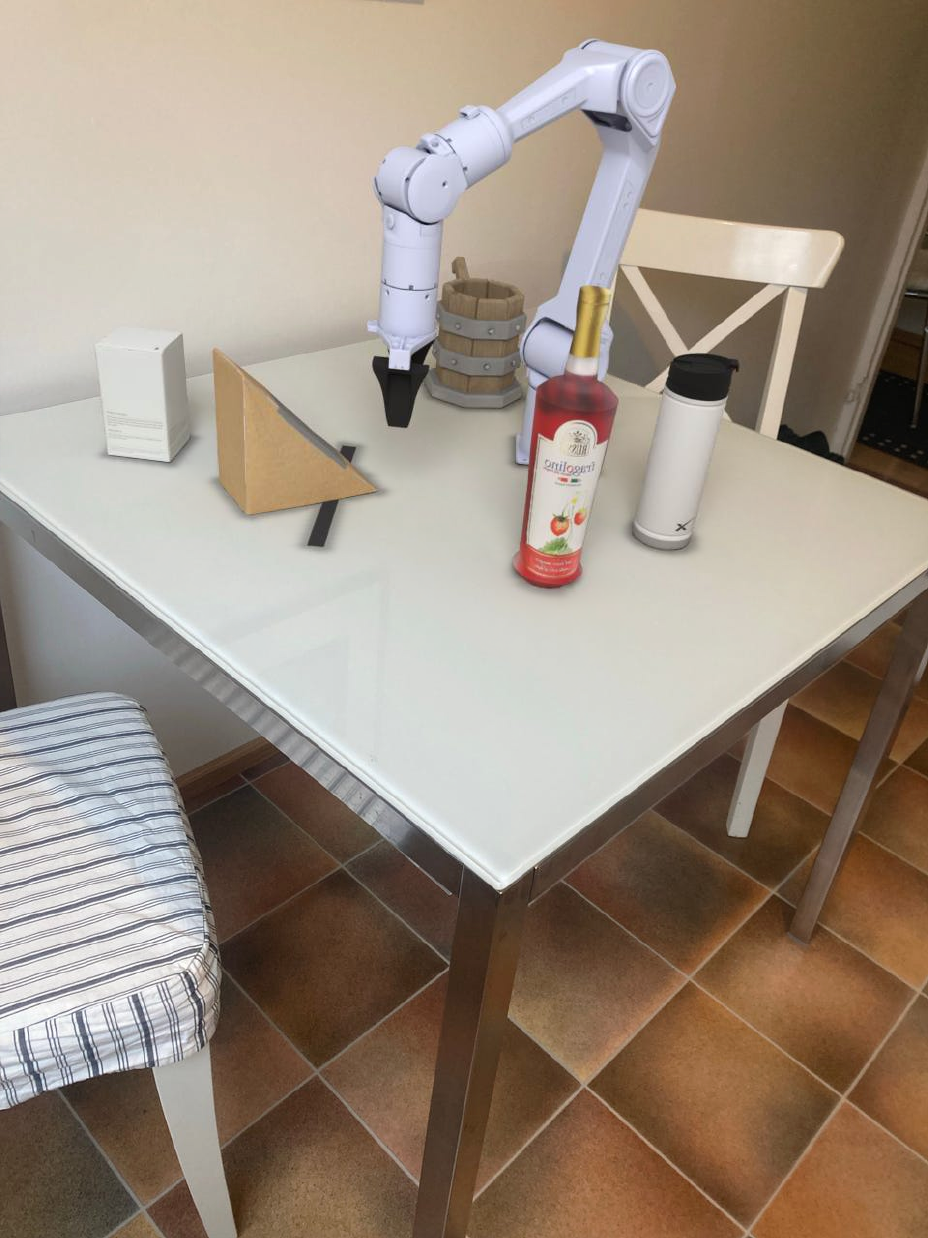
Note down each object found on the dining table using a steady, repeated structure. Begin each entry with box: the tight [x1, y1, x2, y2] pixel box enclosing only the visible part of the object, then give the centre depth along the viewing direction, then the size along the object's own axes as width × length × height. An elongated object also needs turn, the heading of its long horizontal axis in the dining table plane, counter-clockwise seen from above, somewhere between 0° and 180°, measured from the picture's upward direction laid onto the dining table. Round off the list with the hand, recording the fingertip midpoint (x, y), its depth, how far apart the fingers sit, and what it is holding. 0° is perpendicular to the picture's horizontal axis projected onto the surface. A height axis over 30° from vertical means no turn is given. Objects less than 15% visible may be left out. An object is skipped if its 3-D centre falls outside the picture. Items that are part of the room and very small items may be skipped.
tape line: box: [307, 445, 357, 548], centre depth 108 cm, size 2×24×1 cm, turn 178°
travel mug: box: [631, 352, 740, 551], centre depth 101 cm, size 6×7×20 cm
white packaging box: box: [93, 324, 191, 463], centre depth 109 cm, size 7×7×13 cm
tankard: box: [424, 256, 528, 409], centre depth 135 cm, size 20×13×15 cm, turn 13°
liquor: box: [512, 286, 619, 589], centre depth 90 cm, size 7×7×28 cm
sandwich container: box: [212, 347, 378, 516], centre depth 104 cm, size 9×15×15 cm, turn 122°
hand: (401, 411), depth 105 cm, fingers open, 7 cm apart
